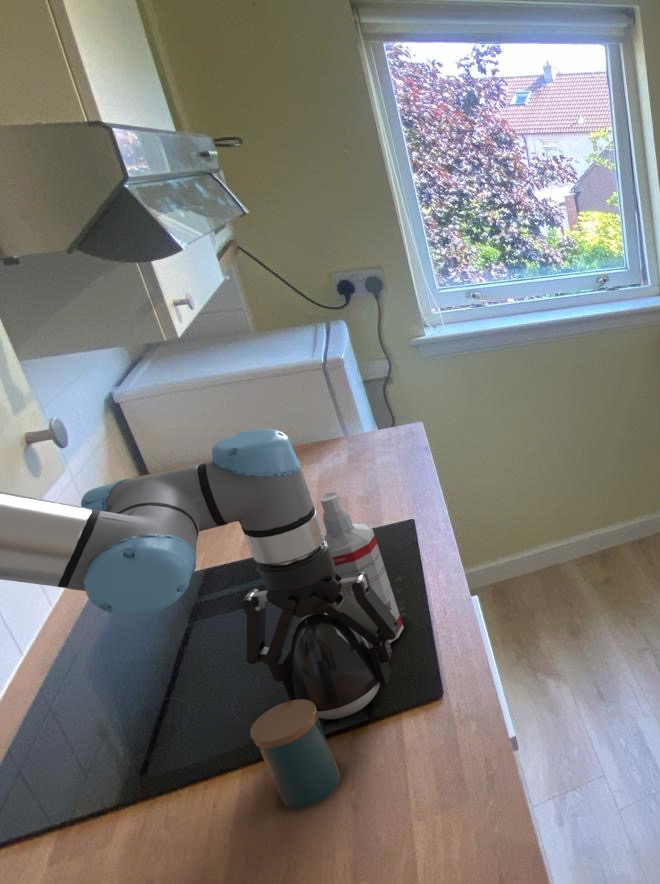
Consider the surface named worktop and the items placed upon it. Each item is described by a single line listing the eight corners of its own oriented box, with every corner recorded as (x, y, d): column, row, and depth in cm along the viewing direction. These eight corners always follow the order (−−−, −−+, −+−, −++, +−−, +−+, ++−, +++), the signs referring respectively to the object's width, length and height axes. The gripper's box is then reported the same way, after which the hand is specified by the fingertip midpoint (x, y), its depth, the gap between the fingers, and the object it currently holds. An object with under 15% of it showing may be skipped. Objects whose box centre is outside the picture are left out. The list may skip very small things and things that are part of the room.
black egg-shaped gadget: (395, 668, 107) (366, 583, 101) (382, 720, 98) (350, 629, 92) (316, 686, 104) (282, 599, 98) (295, 740, 95) (256, 648, 89)
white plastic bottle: (410, 636, 114) (366, 495, 103) (357, 660, 109) (306, 515, 99) (393, 614, 119) (349, 478, 108) (342, 636, 114) (291, 496, 104)
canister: (277, 819, 85) (245, 750, 80) (285, 778, 90) (255, 710, 85) (340, 797, 87) (312, 728, 82) (344, 758, 92) (318, 692, 88)
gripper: (398, 521, 97) (437, 653, 106) (201, 549, 92) (260, 685, 101) (383, 551, 90) (426, 689, 99) (170, 583, 85) (236, 725, 94)
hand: (342, 687), depth 100 cm, fingers closed on black egg-shaped gadget, 10 cm apart
